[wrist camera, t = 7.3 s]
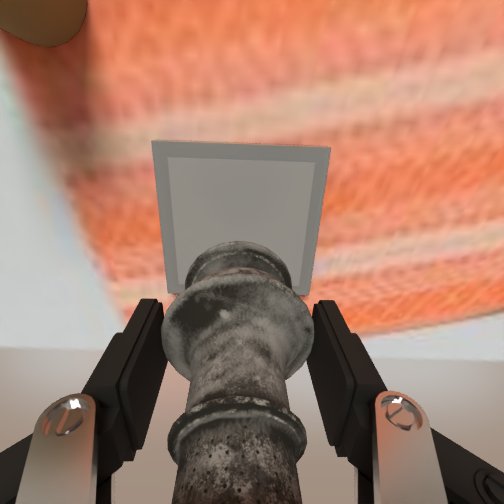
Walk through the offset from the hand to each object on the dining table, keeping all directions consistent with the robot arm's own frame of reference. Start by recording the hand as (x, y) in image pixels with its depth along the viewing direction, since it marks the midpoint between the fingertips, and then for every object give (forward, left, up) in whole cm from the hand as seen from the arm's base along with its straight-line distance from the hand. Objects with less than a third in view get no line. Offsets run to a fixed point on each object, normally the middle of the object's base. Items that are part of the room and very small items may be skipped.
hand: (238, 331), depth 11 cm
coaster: (0, 0, -12) cm, 12 cm away
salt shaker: (0, 0, -3) cm, 3 cm away
